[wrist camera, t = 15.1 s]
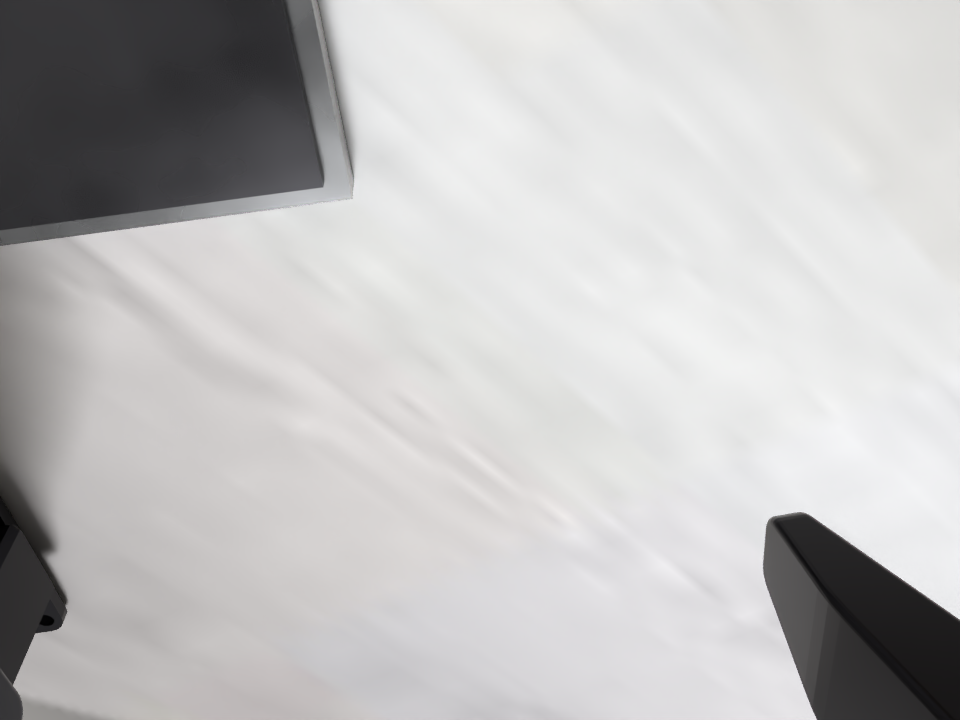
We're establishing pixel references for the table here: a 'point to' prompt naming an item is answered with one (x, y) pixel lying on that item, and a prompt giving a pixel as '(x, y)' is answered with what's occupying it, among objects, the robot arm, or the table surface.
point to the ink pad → (163, 113)
